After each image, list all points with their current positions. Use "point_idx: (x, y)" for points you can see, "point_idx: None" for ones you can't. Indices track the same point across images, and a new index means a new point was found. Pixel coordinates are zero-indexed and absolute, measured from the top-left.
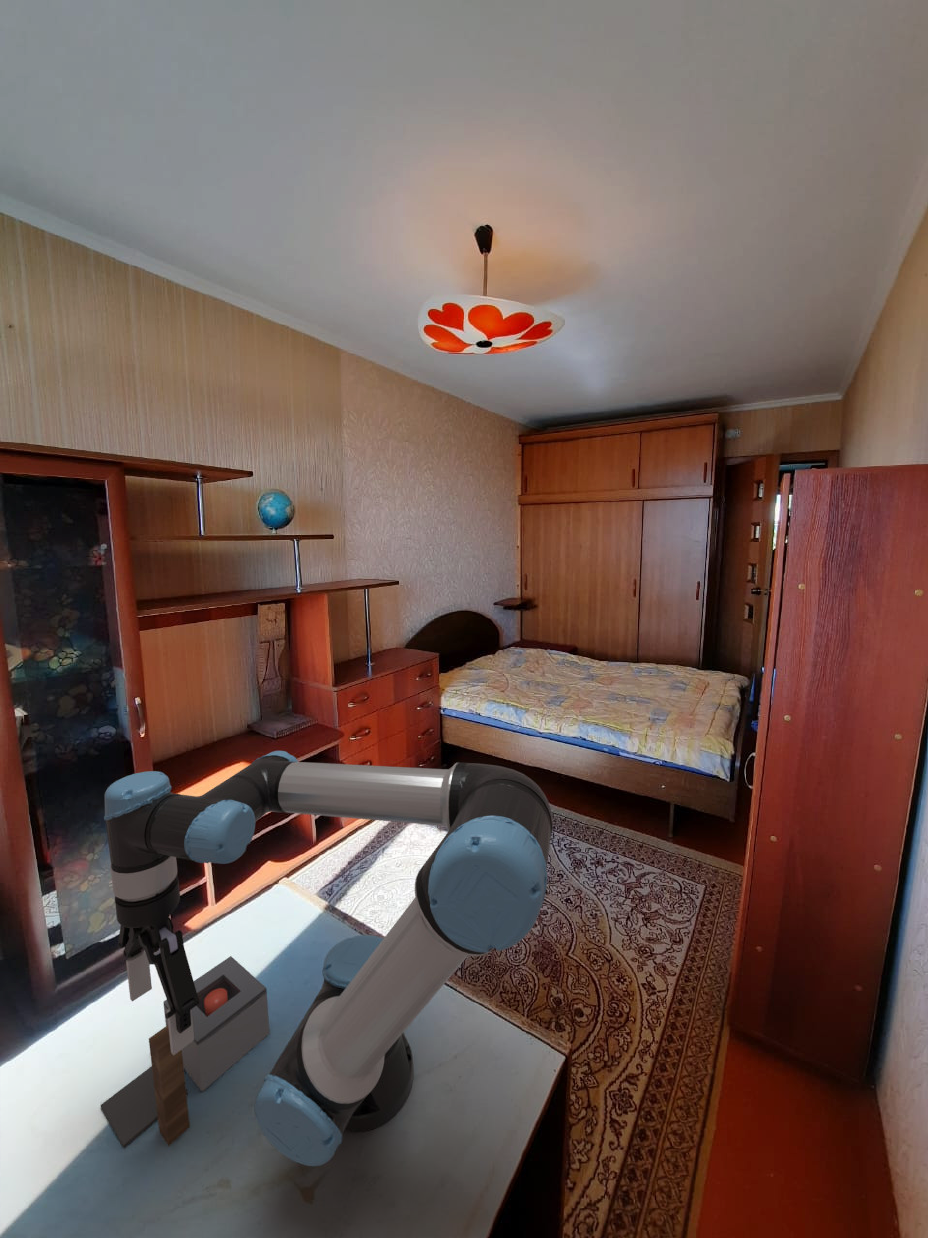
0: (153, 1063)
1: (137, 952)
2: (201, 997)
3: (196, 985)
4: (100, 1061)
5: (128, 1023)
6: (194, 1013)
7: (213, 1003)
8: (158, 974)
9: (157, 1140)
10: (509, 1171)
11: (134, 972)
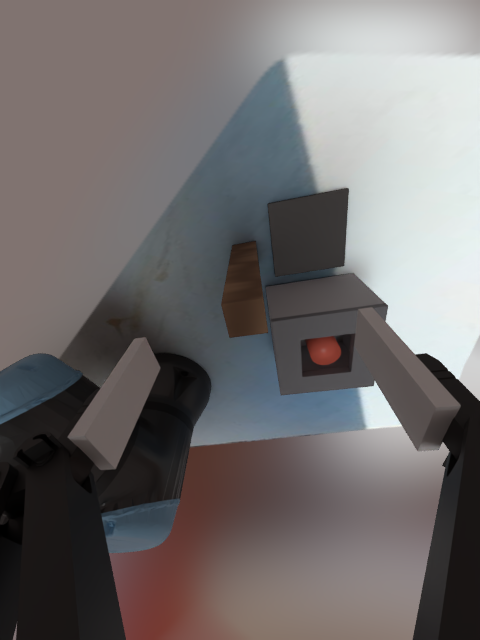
0: (251, 279)
1: (451, 440)
2: None
3: None
4: (424, 199)
5: (447, 242)
6: (321, 331)
7: (318, 349)
8: (66, 592)
9: (249, 236)
10: None
11: (398, 375)
